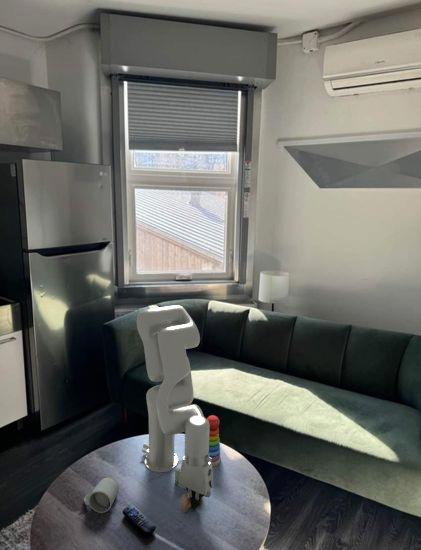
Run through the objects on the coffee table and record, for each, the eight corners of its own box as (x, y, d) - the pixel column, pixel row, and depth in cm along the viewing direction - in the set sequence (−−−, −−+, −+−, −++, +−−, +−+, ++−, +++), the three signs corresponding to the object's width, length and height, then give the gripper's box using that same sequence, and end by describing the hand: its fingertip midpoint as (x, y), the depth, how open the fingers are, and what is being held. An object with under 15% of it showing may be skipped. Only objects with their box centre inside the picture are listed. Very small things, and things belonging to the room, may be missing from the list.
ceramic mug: (120, 495, 135) (119, 475, 133) (111, 514, 127) (110, 493, 125) (90, 491, 136) (89, 472, 135) (79, 510, 128) (78, 490, 127)
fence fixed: (173, 484, 140) (174, 470, 139) (176, 481, 141) (176, 467, 140) (195, 494, 135) (195, 480, 134) (198, 491, 137) (198, 477, 136)
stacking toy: (218, 469, 149) (220, 424, 145) (197, 465, 151) (199, 421, 146) (222, 455, 157) (224, 412, 152) (202, 452, 158) (204, 409, 154)
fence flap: (199, 491, 137) (199, 477, 136) (203, 494, 136) (203, 479, 135) (180, 511, 128) (181, 496, 127) (185, 513, 127) (185, 498, 126)
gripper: (223, 457, 124) (221, 508, 128) (183, 441, 132) (182, 490, 135) (211, 471, 118) (209, 524, 122) (169, 454, 125) (169, 505, 129)
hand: (195, 506), depth 129 cm, fingers closed
